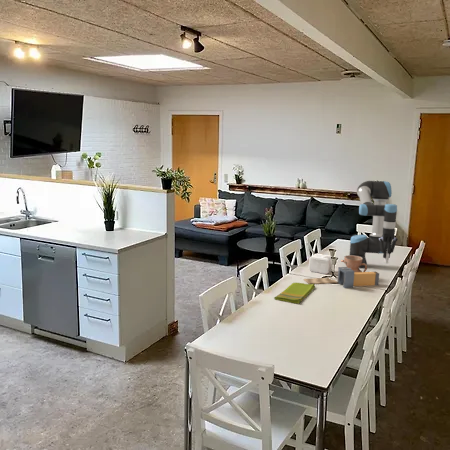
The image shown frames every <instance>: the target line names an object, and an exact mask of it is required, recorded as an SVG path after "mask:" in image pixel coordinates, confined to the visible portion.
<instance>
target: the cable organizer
mask: <svg viewBox="0 0 450 450" xmlns="http://www.w3.org/2000/svg"><path fill="white" fill-rule="evenodd" d="M331 256H332V255H328V254H321V253H315V254H313V255H311V256H309V259H308V270H309V271H310V272H311V273H320V274H322V275H326V274H329V273H330V271H332V270H331Z"/></svg>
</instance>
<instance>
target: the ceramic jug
mask: <svg viewBox="0 0 450 450" xmlns="http://www.w3.org/2000/svg"><path fill="white" fill-rule="evenodd" d="M362 259H363V258H362V257H359V256H353V255H349V254H348V255H345V256H344V259H341V260H340V262H341V263H344V264H345V267H348V268H351V269H352V270H353V271H354V272H367V270H368V264H367V265H366V264H365V263H362ZM361 265H364V266H365V268H364V270H363V271H362V270H361V268H359V267H360V266H361Z"/></svg>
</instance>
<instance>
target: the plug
mask: <svg viewBox="0 0 450 450" xmlns="http://www.w3.org/2000/svg"><path fill="white" fill-rule="evenodd" d="M379 281H380V273H379V272H377V271H365V272H363V271H362V272H354V284H353V287H364V286H365V287H366V286H379Z"/></svg>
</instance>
